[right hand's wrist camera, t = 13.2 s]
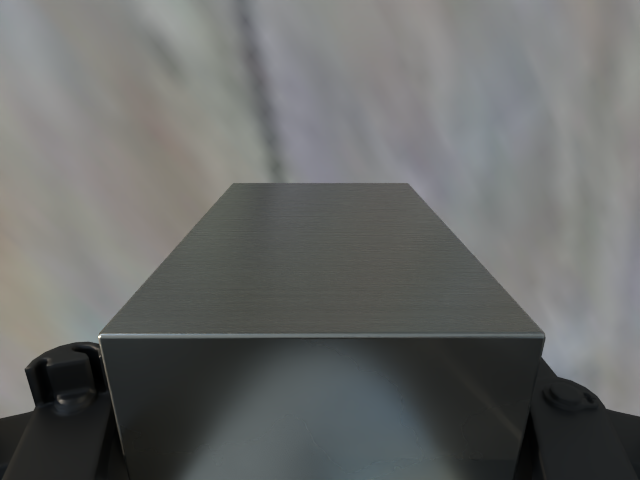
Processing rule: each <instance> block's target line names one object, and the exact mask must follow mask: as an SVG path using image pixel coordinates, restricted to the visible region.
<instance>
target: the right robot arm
mask: <svg viewBox="0 0 640 480" xmlns="http://www.w3.org/2000/svg"><path fill="white" fill-rule="evenodd" d="M25 372H26V376H27V379H28V382H29V386H30V389H31V392H32V396H33V399H34V403H35V406H36V407H35V409H34V411H31V412H28V413H24V414H19V415H14V416H10V417H5V418H1V419H0V480H129V478H128V473H127V468H126V464H125V459H124V455H123V450H122V445H121V441H120V436H119V432H118V427H117V422H116V418H115V413H114V408H113V404H112V399H111V395H110V390H109V385H108V381H107V376H106V372H105V367H104V362H103V358H102V353H101V349H100V344H97V343H92V342H75V343H71V344H67V345H63V346H59V347H57V348H54V349H52V350H49V351H47V352H45V353H43V354H42V355H40V356H39V357H37V358H36V359H34V360H32V362H31V363H30V364H29V365H28V366H27V367H26V368H25ZM514 480H640V417H639V416H634V415H630V414H625V413H620V412H616V411H612V410H608V409H606V408H605V406H604V405H603V403H602V402H601V401H600V399H599V398H598V397H597V396H596V395H595V394H594V393H592V392H591V391H590V390H588V389H587V388H586V387H584V386H582V385H579V384H577V383H575V382H573V381H571V380H567V379H564V378H560V377H557V376H556V374H555V373H554V372H553V371H552V370H551V368H550V367H549V366H548V365H547V363H546V362H545V361H544V360H543V358H542V357H541V360H540V365H539V370H538V374H537V379H536V383H535V388H534V392H533V397H532V401H531V406H530V410H529V415H528V419H527V424H526V428H525V433H524V437H523V442H522V447H521V451H520V456H519V460H518V465H517V469H516V474H515V478H514Z"/></svg>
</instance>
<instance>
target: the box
mask: <svg viewBox="0 0 640 480" xmlns="http://www.w3.org/2000/svg"><path fill="white" fill-rule="evenodd" d="M98 339H99V344H100V349H101V353H102V358H103V362H104V367H105V372H106V376H107V381H108V385H109V390H110V395H111V399H112V404H113V408H114V413H115V418H116V422H117V427H118V432H119V436H120V441H121V445H122V450H123V455H124V459H125V464H126V468H127V473H128V478H129V480H514V478H515V474H516V469H517V465H518V460H519V456H520V451H521V447H522V442H523V437H524V433H525V428H526V424H527V419H528V415H529V410H530V406H531V401H532V397H533V392H534V388H535V383H536V379H537V374H538V370H539V365H540V360H541V356H542V351H543V347H544V342H545V334H544V332H543V331H542V330H541V329H540V328H539V327H538V325H537V324H536V323H535V322H534V321H533V320H532V319H531V318H530V317H529V316H528V315H527V313H526V312H525V311H524V310H523V309H522V308H521V307H520V306H519V305H518V304H517V302H516V301H515V300H514V299H513V298H512V297H511V296H510V295H509V294H508V293H507V291H506V290H505V289H504V288H503V287H502V286H501V285H500V284H499V283H498V282H497V280H496V279H495V278H494V277H493V276H492V275H491V274H490V273H489V272H488V271H487V269H486V268H485V267H484V266H483V265H482V264H481V263H480V262H479V261H478V260H477V259H476V257H475V256H474V255H473V254H472V253H471V252H470V251H469V250H468V249H467V248H466V246H465V245H464V244H463V243H462V242H461V241H460V240H459V239H458V238H457V237H456V235H455V234H454V233H453V232H452V231H451V230H450V229H449V228H448V227H447V226H446V224H445V223H444V222H443V221H442V220H441V219H440V218H439V217H438V216H437V215H436V214H435V212H434V211H433V210H432V209H431V208H430V207H429V206H428V205H427V204H426V203H425V201H424V200H423V199H422V198H421V197H420V196H419V195H418V194H417V193H416V192H415V190H414V189H413V188H412V187H411V186H410V185H409V184H408V183H233V184H232V185H231V186H230V187H229V188H228V189H227V191H226V192H225V193H224V194H223V195H222V196H221V197H220V198H219V200H218V201H217V202H216V203H215V204H214V205H213V206H212V207H211V209H210V210H209V211H208V212H207V213H206V214H205V215H204V216H203V218H202V219H201V220H200V221H199V222H198V223H197V224H196V225H195V226H194V228H193V229H192V230H191V231H190V232H189V233H188V234H187V235H186V237H185V238H184V239H183V240H182V241H181V242H180V243H179V244H178V246H177V247H176V248H175V249H174V250H173V251H172V252H171V253H170V255H169V256H168V257H167V258H166V259H165V260H164V261H163V262H162V264H161V265H160V266H159V267H158V268H157V269H156V270H155V271H154V272H153V274H152V275H151V276H150V277H149V278H148V279H147V280H146V281H145V283H144V284H143V285H142V286H141V287H140V288H139V289H138V290H137V292H136V293H135V294H134V295H133V296H132V297H131V298H130V299H129V301H128V302H127V303H126V304H125V305H124V306H123V307H122V308H121V310H120V311H119V312H118V313H117V314H116V315H115V316H114V317H113V318H112V320H111V321H110V322H109V323H108V324H107V325H106V326H105V327H104V329H103V330H102V331H101V332H100V333H99V337H98Z"/></svg>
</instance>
